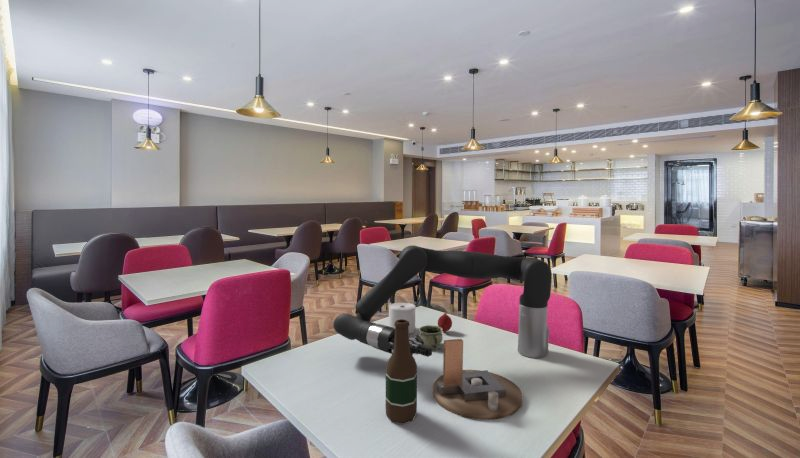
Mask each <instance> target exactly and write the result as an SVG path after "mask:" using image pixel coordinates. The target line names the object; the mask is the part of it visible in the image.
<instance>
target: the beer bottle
mask: <svg viewBox="0 0 800 458" xmlns="http://www.w3.org/2000/svg"><path fill="white" fill-rule="evenodd" d="M409 325H410V324H409V321H407V320H403V319H400V320H396V321H395V324H394V326H395V340H394V350H393V354H391V355H390V357H389V358H388V361H387V363H386V365H385V417H387V418H388V420H389V421H390V422H391V423H396V424H401V425H403V424H406V423H410V422H414V419H415V417H416V415H417V413H418V412H417V409H418V365H417V362H416V359H415V356H414V355H412V354H411V353H410V347H409V336H410V334H409V329H408V326H409Z"/></svg>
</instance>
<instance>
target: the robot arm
mask: <svg viewBox="0 0 800 458" xmlns="http://www.w3.org/2000/svg"><path fill="white" fill-rule="evenodd" d="M398 256H399V257H398V261H397V262H396V263H395V265H394V267H392V269H391V270H390V271H389V272H388V273H387V274H386V275H385V276H384V277H383V278H382V279H381V280H380V281H378V282H377V283H376V284H374V285H373V287H371V288H370V289H369V290H368V291H367V292H366V293H365V294H364V295H363V296H362V297H361V298H360V299H359V300H358V302H357V303H356V304H355V310H356V312H357V315H356V316H355V315H352V314H349V313H341V314H338V315H337V316H336V317H334V318H335V319H334V321H333V329H334V331H335V332H336V333H337V334H338V335H340V336H342V337H343V338H345V339H348V340H350V341H354V340H356V341H358V342H360V343H362V344H364V345H367V346H370V347H372V348H374V349H376V350H379V351H382V352H384V353H387V354H391V355H392V354H393V350H394V340H395V328H393V327H389V325H386V324H381V323H376V322H372V318H374V316H375V315H376V314H377V313H378V312H379V311H380V310H381V309H382V307H383V306H385V304H386V303H388V302H389V300H390V299H391V298H392V297H393V296H394V295H395V294H396V293H397V292H398V291H399V289H401V288H402V287H403V286H404V285H405V284H406V283H407V282H409V281H410V280H411V279H413V278H414V277H416V276H417V275H418V274H420V273H421V272H424V271H426V272H427V271H428V272H439V273H443V274H446V275H451V276H454V277H459V278H463V279H464V278H465V279H471V280H472V279H473V280H491V279H498V278H507V279H512V280H519V281H522V282H523V290H522V291H523V292H522V294H520V296H519V303H518V304H519V307H518V309H519V310H518V334H517V336H518V337H517V352H518V353H519V354H520V355H521V356H525V357H526V358H527V357H528V358H533V359H534V358H535V359H537V358H543V357H546V355H549V338H550V337H549V336H550V327H549V326H548V303H549V300H550V297H551V292H552V281H553V280H552V279H553V277H552V269H551V267H550V265H549V264H548V263H547V262H546V261H544V260H542V259H539V258H537V257H532V256H528V257H527V256H526V257H522V256H521V257H520V256H519V257H518V256H517V257H516V256H515V257H514V256H513V257H512V256H511V257H510V256H502V255H497V254H492V253H486V252H480V251H479V252H478V251H467V250H437V249H433V248H432V249H430V248H425V247H421V246H417V245H408V246H406V247H404V248H403V249H402V250H401V252H400V253H399V255H398ZM419 335H420V334H417V335H415V337H411V336H410V335H409V347H410V353H411V354H412V356H414V355H422V356H423V357H427V358H429V357H430V356H432V355H433V350H432V348H430V347H427V346H424V341H423V340H422V338H421V337H420V336H419Z"/></svg>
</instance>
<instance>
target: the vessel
mask: <svg viewBox="0 0 800 458" xmlns="http://www.w3.org/2000/svg"><path fill="white" fill-rule="evenodd" d="M418 330H419V334H418V335H419V336H420V337H421V338H422V340H423V341H424V346H427V347H430V348H432V351H435V350H438V348H439V349H440V348H441V347H442V345H441V343H442V342H443V338H444V337H443V335H442V333H443V331H442V330H443V329H442V328H441V327H438V325H430V324H429V325H428V324H427V325H423V326H420V327H419V328H418ZM434 349H435V350H434Z"/></svg>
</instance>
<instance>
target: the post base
mask: <svg viewBox="0 0 800 458" xmlns="http://www.w3.org/2000/svg"><path fill="white" fill-rule="evenodd" d="M474 371H481V370H479V369H463V372H474ZM488 372H489V373H490V374H491V375H492V376H493V377H494V378H495V379H496V380H497V381H498V382H499V383H500V384H501V385H502V386H503V387H504V388H505V389H506V397H499V398H498V393H497V392H495V391H490V392H488V399H480V400H471V401H464V399H463V398H462V396H461V395H460V394H459V393H455V394H445V395H440V394H439V392H438V391H437V382H443V374H442V375H441V374H440V375H439V376H438V377H437V378H436V379H435V381H433V385H432V395H433V398H434V401H435V402H436V403H437V404H438V405H439V406H440V407H441V408H443V409H444V410H446V411H448V412H449V413H450V412H451V414H455V415H457V416H460V417H464V418H466V419H467V418H468V419H473V420H481V421H482V420H483V421H487V420H489V421H491V420H499V419H505V418H508V417H511V416H512V415H515V414H516V413H517V412H518V411H519V410H520V409H521V407H522V405H523V392H522V390H521V389H520V387H519V386H518V385H517V384H516V383H515V382H513V381H512V380H510V379H508V378H507V377H505V376H502V375H500V374H497V373H494V372H490V371H488ZM470 385H471V386H482V385H483V384H482V380H481V379H479V378H473V379H471V384H470Z"/></svg>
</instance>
